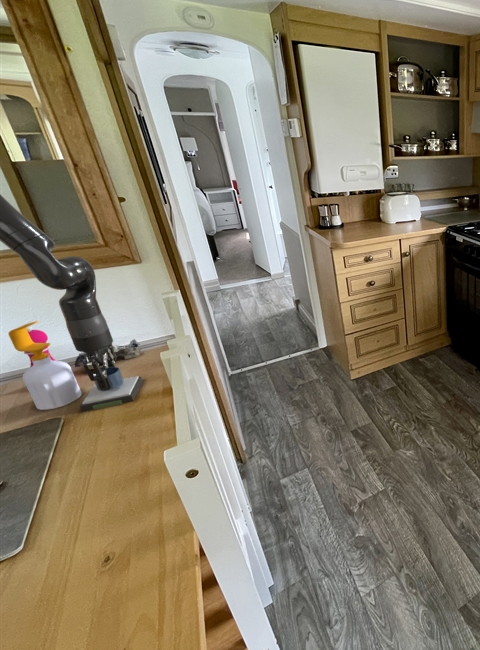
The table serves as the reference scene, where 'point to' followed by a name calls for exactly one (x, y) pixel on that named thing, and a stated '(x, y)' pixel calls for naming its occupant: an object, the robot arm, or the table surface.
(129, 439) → the table surface
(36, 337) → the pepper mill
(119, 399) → the scale
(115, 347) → the foil
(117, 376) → the bowl
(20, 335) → the spray bottle
